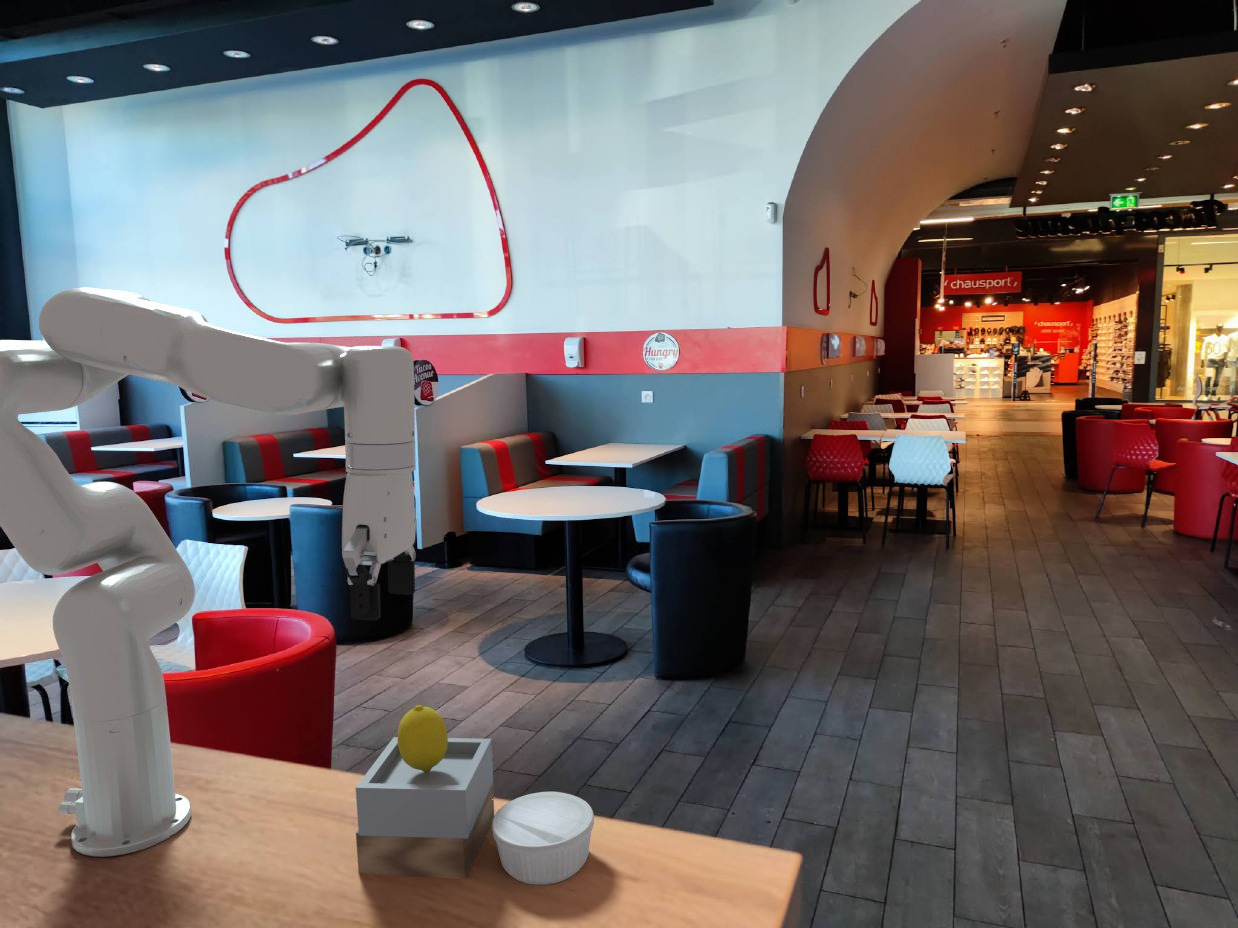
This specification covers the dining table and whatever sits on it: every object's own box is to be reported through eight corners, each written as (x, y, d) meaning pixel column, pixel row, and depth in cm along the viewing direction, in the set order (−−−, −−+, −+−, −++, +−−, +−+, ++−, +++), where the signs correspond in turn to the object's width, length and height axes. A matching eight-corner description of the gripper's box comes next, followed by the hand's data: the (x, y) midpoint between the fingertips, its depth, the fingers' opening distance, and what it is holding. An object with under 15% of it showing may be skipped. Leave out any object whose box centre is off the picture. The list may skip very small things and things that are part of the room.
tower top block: (358, 835, 93) (355, 787, 92) (396, 779, 105) (393, 736, 104) (467, 838, 92) (465, 790, 91) (493, 781, 104) (491, 738, 103)
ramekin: (485, 892, 90) (483, 845, 90) (502, 832, 101) (501, 790, 101) (591, 892, 90) (590, 845, 89) (597, 832, 101) (596, 790, 100)
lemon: (440, 784, 95) (431, 715, 94) (394, 784, 96) (384, 716, 95) (459, 760, 100) (450, 694, 99) (415, 760, 101) (406, 695, 100)
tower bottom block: (358, 875, 94) (355, 832, 93) (399, 815, 106) (397, 777, 105) (465, 881, 93) (462, 838, 92) (494, 820, 104) (492, 781, 104)
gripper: (381, 447, 105) (384, 583, 107) (310, 467, 88) (316, 628, 90) (440, 449, 104) (442, 586, 106) (380, 469, 87) (384, 632, 89)
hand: (384, 605), depth 98 cm, fingers open, 9 cm apart
